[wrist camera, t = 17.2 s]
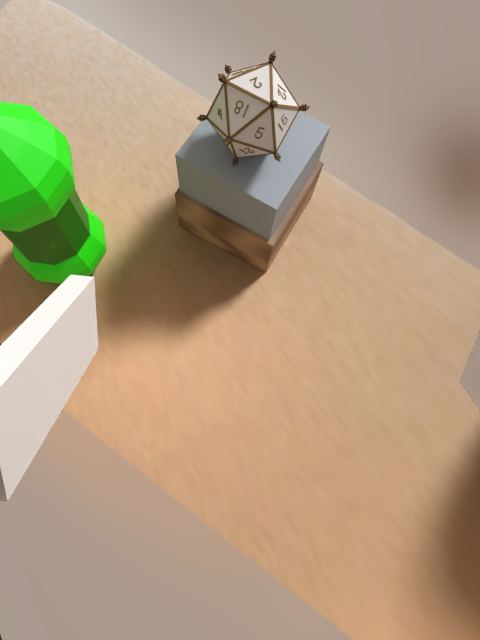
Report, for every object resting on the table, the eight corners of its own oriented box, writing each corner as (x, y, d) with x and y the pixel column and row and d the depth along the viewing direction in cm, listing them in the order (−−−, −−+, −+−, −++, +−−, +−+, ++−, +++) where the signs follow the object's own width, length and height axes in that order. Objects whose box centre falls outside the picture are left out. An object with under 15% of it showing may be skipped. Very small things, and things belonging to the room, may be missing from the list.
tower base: (310, 198, 56) (323, 163, 49) (265, 273, 53) (273, 246, 46) (229, 156, 57) (230, 116, 51) (180, 226, 54) (174, 193, 47)
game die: (228, 174, 46) (160, 114, 38) (269, 99, 45) (208, 22, 37) (293, 196, 40) (229, 132, 32) (340, 111, 40) (286, 24, 32)
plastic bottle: (29, 305, 50) (-143, 163, 26) (24, 223, 53) (-133, 28, 29) (119, 291, 51) (33, 142, 27) (109, 211, 54) (24, 14, 30)
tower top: (317, 165, 49) (330, 126, 44) (269, 240, 46) (276, 209, 40) (232, 121, 50) (234, 78, 45) (180, 191, 47) (175, 154, 42)
